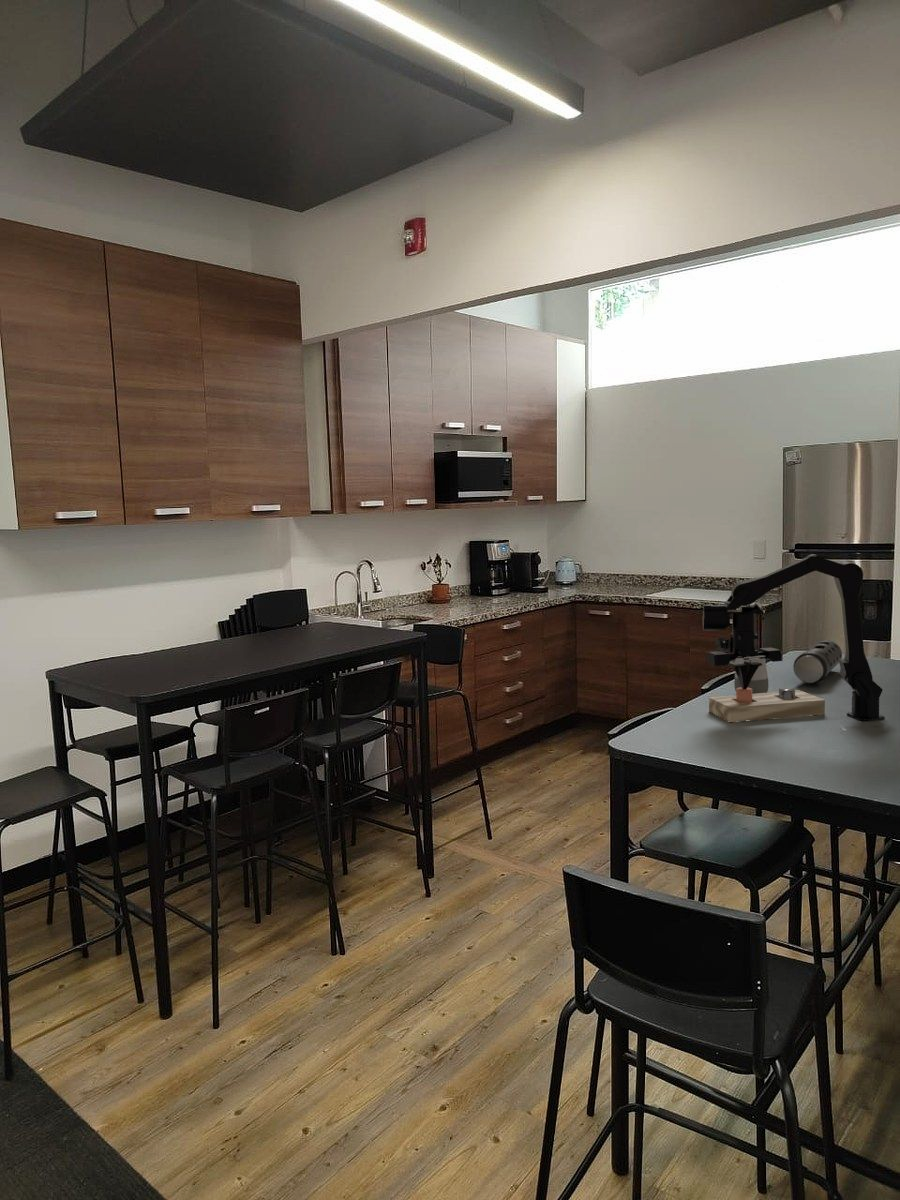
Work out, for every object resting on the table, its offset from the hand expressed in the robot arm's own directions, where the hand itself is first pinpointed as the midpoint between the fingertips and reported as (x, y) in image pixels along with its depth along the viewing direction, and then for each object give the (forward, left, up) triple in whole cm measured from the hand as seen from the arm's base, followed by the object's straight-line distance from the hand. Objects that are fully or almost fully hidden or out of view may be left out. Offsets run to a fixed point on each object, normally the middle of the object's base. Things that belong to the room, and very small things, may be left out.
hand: (744, 688), depth 214 cm
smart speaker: (+19, -12, -7) cm, 24 cm away
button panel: (0, -6, -7) cm, 9 cm away
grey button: (0, -12, -7) cm, 14 cm away
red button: (0, 0, -5) cm, 5 cm away
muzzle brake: (+34, -42, -7) cm, 55 cm away
